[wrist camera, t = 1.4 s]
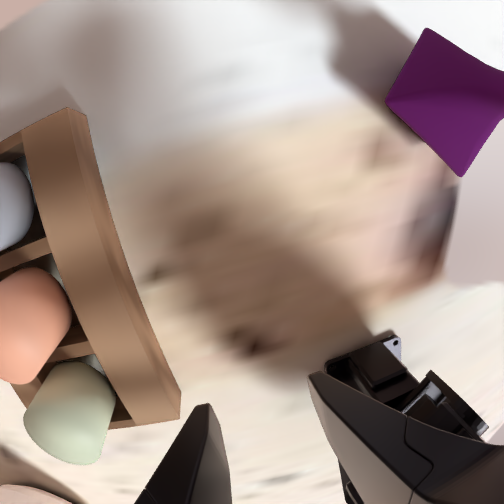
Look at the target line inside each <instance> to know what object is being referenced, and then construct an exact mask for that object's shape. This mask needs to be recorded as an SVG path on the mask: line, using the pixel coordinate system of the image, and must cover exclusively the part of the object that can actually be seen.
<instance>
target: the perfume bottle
mask: <svg viewBox="0 0 504 504" xmlns="http://www.w3.org/2000/svg"><path fill="white" fill-rule="evenodd" d="M385 103H386V105H387V106H388V107H389V108H390V109H391V110H392V111H393V112H394V113H395V114H396V115H397V116H398V117H399V118H401V119H402V120H403V121H404V122H405V123H406V124H407V125H408V126H409V127H410V128H411V129H412V130H413V131H414V132H415V133H416V134H417V135H418V136H419V137H420V138H421V139H422V140H423V141H424V142H425V143H426V144H427V145H428V146H429V147H430V148H431V149H432V150H433V151H434V152H435V153H436V154H437V155H438V156H439V157H440V158H441V159H442V160H443V161H444V162H445V163H446V164H447V165H448V166H449V167H450V168H451V169H452V170H453V171H454V173H455V174H456V175H457V176H459V177H462V176H463V175H464V174H465V173H466V171H467V170H468V168H469V167H470V165H471V164H472V162H473V161H474V159H475V157H476V156H477V154H478V153H479V151H480V149H481V148H482V146H483V145H484V143H485V142H486V140H487V139H488V137H489V136H490V135H491V133H492V132H493V130H494V129H495V127H496V125H497V124H498V123H499V121H500V120H502V119H503V118H504V71H501V70H498V69H496V68H493V67H491V66H489V65H487V64H485V63H483V62H482V61H480V60H478V59H477V58H475V57H473V56H472V55H470V54H468V53H466V52H465V51H463V50H462V49H461V48H459V47H458V46H456V45H455V44H453V43H452V42H450V41H449V40H447V39H446V38H444V37H442V36H441V35H439V34H438V33H436V32H434V31H433V30H431V29H429V28H425V29H424V30H423V32H422V34H421V36H420V38H419V39H418V41H417V43H416V45H415V47H414V49H413V50H412V52H411V54H410V56H409V58H408V59H407V61H406V63H405V65H404V67H403V68H402V70H401V72H400V74H399V76H398V77H397V79H396V81H395V83H394V84H393V86H392V88H391V90H390V91H389V93H388V95H387V97H386V98H385Z"/></svg>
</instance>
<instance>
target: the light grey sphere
mask: <svg viewBox="0 0 504 504" xmlns="http://www.w3.org/2000/svg"><path fill="white" fill-rule="evenodd" d="M33 213H34V197H33V191H32V188H31V184H30V182H29V180H28V178H27V176H26V175H25V173H24V172H23V171H22V170H21V169H20V168H19V167H18V166H16V165H14V164H12V163H7V162H0V251H2V250H4V249H6V248H8V247H10V246H12V245H14V244H16V243H18V242H19V241H20V240H21V239H22V238H23V237H24V236H25V235H26V233H27V232H28V230H29V228H30V225H31V222H32V219H33Z"/></svg>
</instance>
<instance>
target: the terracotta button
mask: <svg viewBox="0 0 504 504" xmlns="http://www.w3.org/2000/svg"><path fill="white" fill-rule="evenodd" d="M71 321H72V310H71V305H70V301H69V299H68V296H67V294H66V292H65V290H64V289H63V287H62V286H61V284H60V283H59V282H58V281H57V280H56V279H55V278H54V277H53V276H52V275H51V274H49V273H48V272H46V271H44V270H42V269H40V268H36V267H25V268H22V269H19V270H18V271H16V272H15V273H13V274H11V275H10V276H8V277H7V278H5V279H4V280H2V281H1V282H0V379H2V380H4V381H7V382H9V383H13V384H27V383H29V382H31V381H32V380H33V379H34V378H35V377H36V376H37V374H38V373H39V371H40V370H41V368H42V367H43V365H44V364H45V363H46V361H47V360H48V358H49V357H50V355H51V354H52V353H53V351H54V350H55V348H56V347H57V346H58V344H59V343H60V342H61V340H62V339H63V338H64V336H65V335H66V333H67V332H68V330H69V328H70V325H71Z"/></svg>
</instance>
